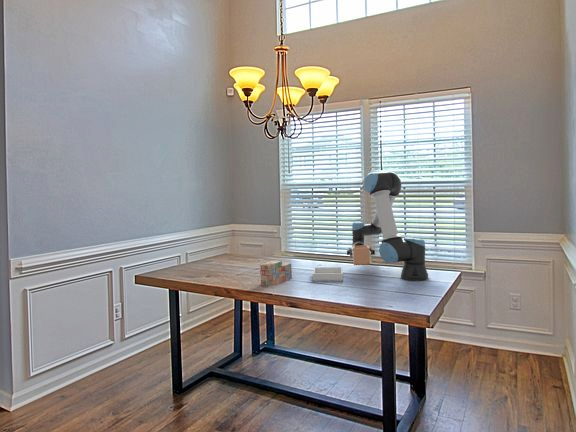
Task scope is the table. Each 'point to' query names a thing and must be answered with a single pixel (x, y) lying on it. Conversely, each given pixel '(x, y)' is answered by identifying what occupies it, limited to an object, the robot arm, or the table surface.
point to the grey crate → (327, 274)
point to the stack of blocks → (275, 272)
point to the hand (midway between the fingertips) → (361, 254)
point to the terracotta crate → (361, 255)
